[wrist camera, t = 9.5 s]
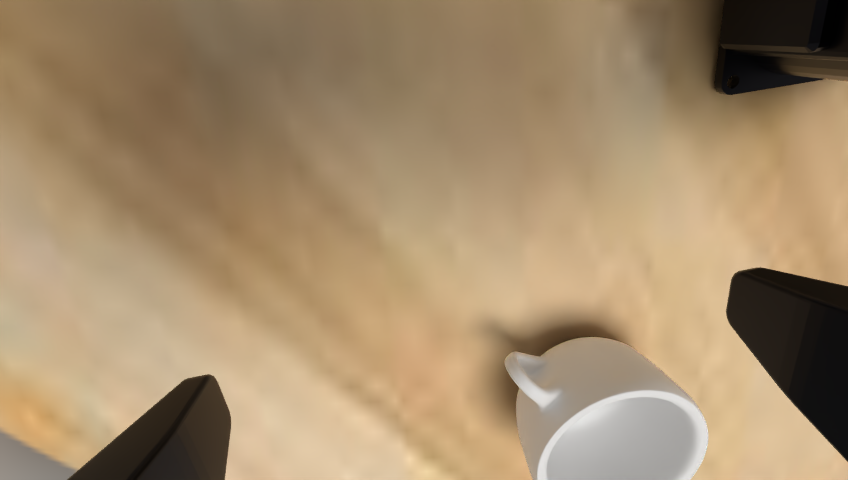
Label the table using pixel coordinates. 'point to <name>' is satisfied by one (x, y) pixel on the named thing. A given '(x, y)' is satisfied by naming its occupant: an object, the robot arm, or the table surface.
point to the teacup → (604, 415)
